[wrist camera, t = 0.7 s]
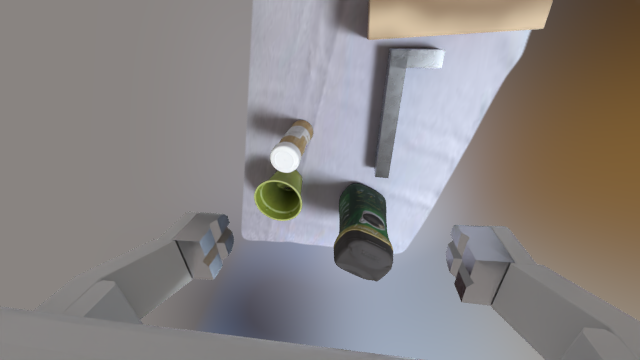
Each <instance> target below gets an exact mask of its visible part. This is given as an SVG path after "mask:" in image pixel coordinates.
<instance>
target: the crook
mask: <svg viewBox="0 0 640 360" xmlns="http://www.w3.org/2000/svg"><path fill="white" fill-rule="evenodd" d="M444 54H445V50H442V49H422V48H390V49H389V56H388V64H387V72H386V80H385V88H384V96H383V104H382V111H381V119H380V127H379V135H378V143H377V151H376V159H375V167H374V169H375V177H383V178H388V176H389V170H390V164H391V158H392V152H393V145H394V139H395V133H396V127H397V121H398V115H399V108H400V102H401V96H402V90H403V84H404V78H405V72H406V68H441V67H442V63H443V58H444Z"/></svg>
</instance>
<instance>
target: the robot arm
mask: <svg viewBox="0 0 640 360" xmlns="http://www.w3.org/2000/svg"><path fill="white" fill-rule="evenodd" d="M229 223H230V222H229V219H228V216H226V215H225V214H216V213H202V212H201V213H199V212H187V213H185V214H184V215H183V216H182V217H180V219H179V220H178V221H176V222H175V223H174V224H173V225H172V226H171V227H170V228H169V229H168V230H167V231H166V232H165V233H164V234H163V235H162V236H161V237H160V238H159V239H158V240H157V239H154V240H151V241H149V242H147V243H145V244H143V245H141V246H139V247H136V248H134V249H132V250H130V251H128V252H126V253H124V254H121V255H119V256H117V257H115V258H113V259H111V260H109V261H107V262H104V263H102V264H100V265H98V266H96V267H94V268H92V269H90V270H87V271H85V272H83V273H81V274H79V275H77V276H75V277H74V278H72V279H71V280H70V281H69V282H68V283H66V284H65V285H64V286H63V287H61V288H60V289H59V290H58V291H57V292H55V293H54V294H53V295H52V296H50V298H48V299H47V300H46V301H44V302H43V303H42V304H41V305H40V306H38V307H37V308H36V309H35V310H33V311H32V310H23V309H16V308H9V307H1V306H0V360H423V359H415V358H406V357H399V356H390V355H382V354H375V353H367V352H358V351H350V350H342V349H334V348H326V347H318V346H311V345H303V344H295V343H286V342H278V341H271V340H263V339H255V338H247V337H239V336H230V335H223V334H215V333H207V332H199V331H191V330H183V329H175V328H167V327H159V326H151V325H143V323H142V322H141V320H140V319H141V318H143V317H144V316H146V315H147V314H148V313H149V312H151V311H152V310H153V309H155V308H156V307H157V306H159V305H160V304H161V303H162V302H164V301H165V300H166V299H167V298H169V297H170V296H171V295H173V294H174V293H175V292H177V291H178V290H179V289H180V288H182V287H183V286H184V285H186V284H187V283H188V282H190V281H191V280H192V278H194V279H211V280H214V279H215V277H216V276H217V274H218V272H219V271H220V269H221V267H222V266H223V264H222V260H223V259H225V258H226V257H228V256H229V254H230V253H231V251H232V248H233V244H234V236H233V233H232V231H231V230H230V229H229V228H228V225H229ZM451 236H452V239H453V241H452V242H450V243H449V244H448V246H447V251H446V260H447V265H448V268H449V271H450V273H451V274H452V275H454V276H455V277H456V280H455V283H454V284H455V287H456V290H457V292H458V294H459V297H460V300H461V302H464V303H473V304H482V305H490V306H492V308H493V309H494V310H495V311H496V312H497V313H498V314H499V315H500V316H501V317H502V318H503V319H504V320H505V321H506V322H507V323H508V324H509V325H510V326H511V327H512V328H513V329H514V330H515V331H516V332H517V333H518V334H519V335H520V336H521V337H522V338H524V339H525V340H526V341H527V342H528V343H529V344H530V345H531V346H532V347H533V348H534V349H535V350H536V351H537V352H538V353H539V354H540V355H541V356H542V357H543V358H544V359H545V360H640V321H638V320H637V319H635V318H633V317H632V316H630V315H628V314H626V313H624V312H623V311H621V310H620V309H618V308H616V307H614V306H613V305H611V304H609V303H607V302H606V301H604V300H602V299H601V298H599V297H597V296H595V295H594V294H592V293H590V292H589V291H587V290H585V289H583V288H582V287H580V286H578V285H576V284H575V283H573V282H571V281H570V280H568V279H566V278H564V277H562V276H561V275H559V274H558V273H556V272H554V271H552V270H551V269H549V268H547V267H545V266H544V265H537V264H536V262H535V261H534V260H533V259H532V257H531V256H530V255H529V254H528V252H527V251H526V250H525V248H524V247H523V246H522V245H521V244H520V242H519V241H518V240H517V239H516V237H515V236H514V235H513V233H512V232H511V231H510V229H509V228H507V227H505V226H466V225H465V226H464V225H454V226H453V228H452V231H451Z"/></svg>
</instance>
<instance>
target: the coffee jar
mask: <svg viewBox="0 0 640 360" xmlns="http://www.w3.org/2000/svg"><path fill="white" fill-rule="evenodd" d="M339 216H340V231H339V235H338V237H337V239H336V241H335V244H334V261H335V263H336V265H337V266H338V267H340V268H341V269H343V270H345V271H347V272H350V273H352V274H354V275H356V276H359V277H361V278H363V279H367V280H374V281H378V280H380V279H381V278H382V277H383V276H385V275H386V274H387V273H388V272H389V270H390V269H391V267H392V263H393V248H392V245H391V243H390V241H389V238H388V234H387V224H386V201H385V198H384V197H383V196H382V195H381V194H379V193H378V192H376V191H375V190H373V189H371V188H369V187H367V186H364V185H362V184H352V185H350V186H348V187H347V188H346V189H345V191H344V192H343V193H342V195H341V197H340V200H339Z"/></svg>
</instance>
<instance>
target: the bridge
mask: <svg viewBox="0 0 640 360" xmlns="http://www.w3.org/2000/svg"><path fill="white" fill-rule="evenodd" d="M552 1H553V0H369V3H368V35H367V39H368V40H375V39H390V38H406V37H422V36H437V35H453V34H469V33H484V32H500V31H515V30H531V29H543V28H544V25H545V22H546V19H547V16H548V13H549V10H550V7H551V4H552Z"/></svg>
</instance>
